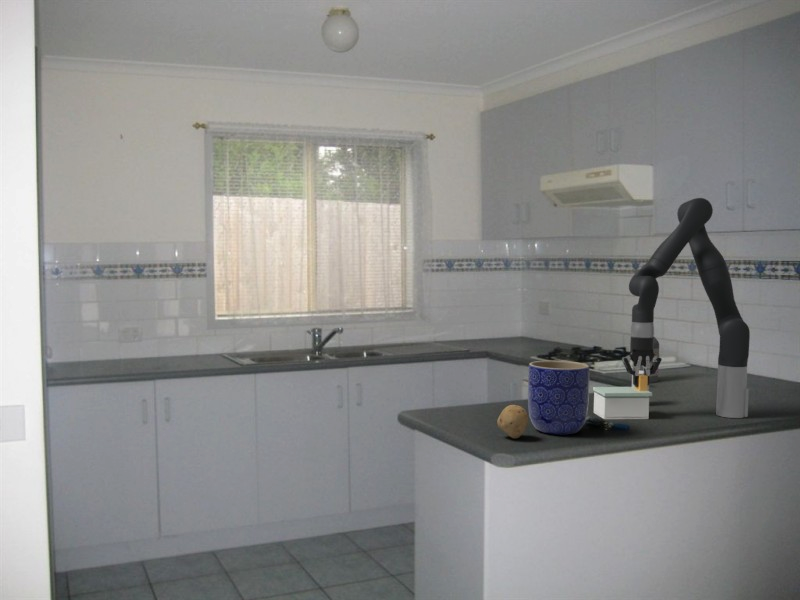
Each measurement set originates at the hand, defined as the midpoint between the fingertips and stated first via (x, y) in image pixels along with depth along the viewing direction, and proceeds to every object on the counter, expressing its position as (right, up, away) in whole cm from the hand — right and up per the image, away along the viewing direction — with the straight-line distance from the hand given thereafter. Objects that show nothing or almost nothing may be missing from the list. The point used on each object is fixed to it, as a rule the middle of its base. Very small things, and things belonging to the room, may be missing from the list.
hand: (640, 386), depth 285 cm
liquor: (+23, -5, +73) cm, 77 cm away
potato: (-48, -12, -35) cm, 60 cm away
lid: (-6, -3, 0) cm, 7 cm away
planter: (-33, -11, -24) cm, 42 cm away
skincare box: (+5, -9, +20) cm, 23 cm away
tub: (-7, -10, 0) cm, 12 cm away
